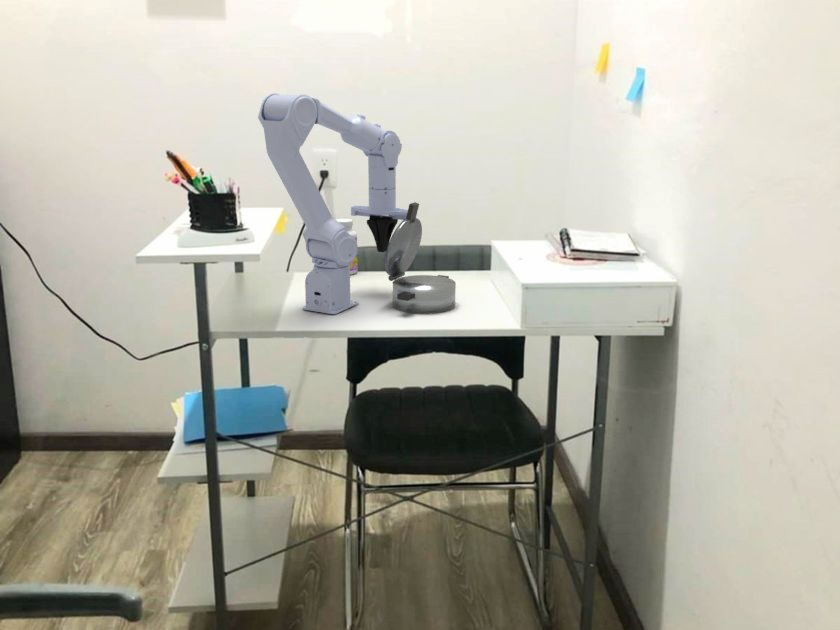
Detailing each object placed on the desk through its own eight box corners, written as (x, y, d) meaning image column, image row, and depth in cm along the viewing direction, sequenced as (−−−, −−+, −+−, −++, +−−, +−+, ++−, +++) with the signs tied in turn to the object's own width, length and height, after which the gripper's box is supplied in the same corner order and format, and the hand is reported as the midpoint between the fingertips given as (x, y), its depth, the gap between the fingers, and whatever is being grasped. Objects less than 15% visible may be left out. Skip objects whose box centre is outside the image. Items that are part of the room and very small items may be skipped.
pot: (431, 320, 158) (432, 296, 157) (374, 311, 164) (374, 288, 163) (470, 298, 174) (471, 276, 173) (417, 291, 180) (417, 269, 179)
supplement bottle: (356, 276, 193) (355, 222, 189) (328, 276, 193) (326, 222, 189) (358, 269, 199) (358, 217, 196) (331, 269, 199) (330, 217, 196)
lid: (401, 209, 159) (396, 207, 159) (383, 286, 165) (378, 283, 165) (431, 200, 170) (426, 198, 170) (412, 272, 176) (408, 270, 177)
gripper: (421, 188, 172) (420, 251, 176) (362, 183, 178) (363, 244, 182) (405, 192, 166) (405, 257, 170) (345, 187, 172) (346, 250, 176)
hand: (382, 251), depth 175 cm, fingers closed
